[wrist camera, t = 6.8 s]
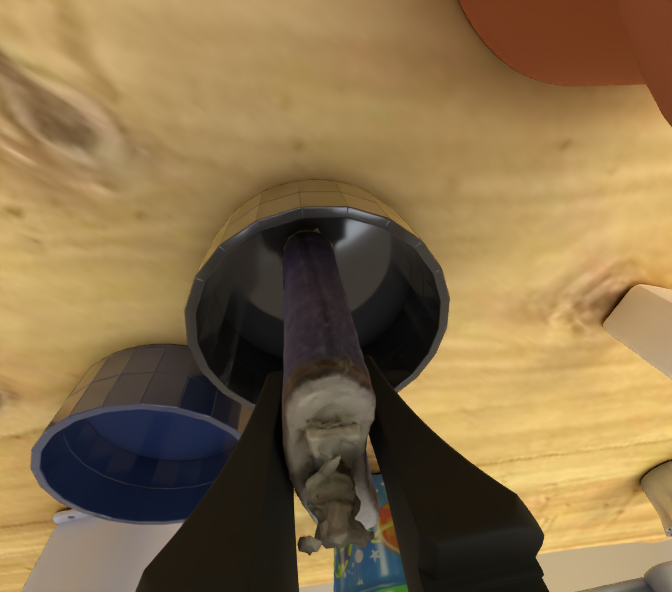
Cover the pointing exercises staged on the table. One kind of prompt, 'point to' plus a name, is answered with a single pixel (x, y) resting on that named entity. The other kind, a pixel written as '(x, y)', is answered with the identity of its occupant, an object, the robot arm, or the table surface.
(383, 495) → the snack cup
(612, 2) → the potted cactus
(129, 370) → the indigo bowl
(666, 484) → the cupcake
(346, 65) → the table surface
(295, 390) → the flask
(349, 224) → the charcoal bowl
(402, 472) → the robot arm
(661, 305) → the pepper shaker
